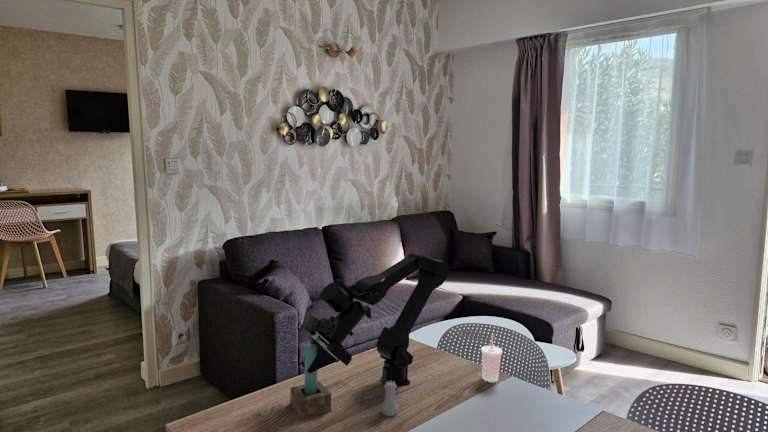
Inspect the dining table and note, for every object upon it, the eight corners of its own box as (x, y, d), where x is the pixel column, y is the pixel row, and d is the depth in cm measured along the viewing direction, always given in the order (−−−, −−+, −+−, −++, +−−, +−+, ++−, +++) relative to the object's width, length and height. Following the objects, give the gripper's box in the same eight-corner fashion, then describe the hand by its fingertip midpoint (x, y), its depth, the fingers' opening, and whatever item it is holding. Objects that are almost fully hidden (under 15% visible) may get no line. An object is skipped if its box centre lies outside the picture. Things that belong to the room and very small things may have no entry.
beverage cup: (504, 382, 147) (506, 336, 145) (483, 383, 146) (486, 337, 144) (496, 373, 153) (498, 329, 151) (476, 374, 152) (479, 329, 150)
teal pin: (314, 390, 133) (314, 343, 131) (319, 395, 130) (319, 347, 128) (302, 393, 131) (302, 345, 129) (307, 398, 128) (307, 349, 126)
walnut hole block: (319, 396, 136) (319, 381, 136) (331, 410, 129) (331, 394, 129) (290, 403, 132) (290, 387, 132) (301, 418, 125) (301, 401, 125)
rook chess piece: (396, 418, 127) (397, 387, 125) (379, 415, 127) (380, 385, 126) (399, 409, 131) (400, 379, 130) (382, 406, 132) (383, 377, 131)
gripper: (312, 293, 137) (272, 339, 133) (340, 314, 121) (296, 367, 117) (338, 317, 142) (301, 362, 138) (369, 340, 126) (328, 391, 122)
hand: (305, 369), depth 129 cm, fingers closed on teal pin, 3 cm apart
